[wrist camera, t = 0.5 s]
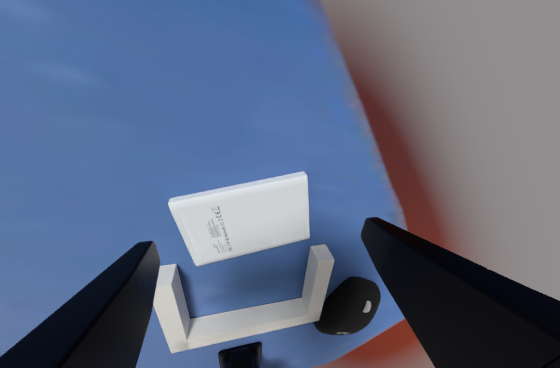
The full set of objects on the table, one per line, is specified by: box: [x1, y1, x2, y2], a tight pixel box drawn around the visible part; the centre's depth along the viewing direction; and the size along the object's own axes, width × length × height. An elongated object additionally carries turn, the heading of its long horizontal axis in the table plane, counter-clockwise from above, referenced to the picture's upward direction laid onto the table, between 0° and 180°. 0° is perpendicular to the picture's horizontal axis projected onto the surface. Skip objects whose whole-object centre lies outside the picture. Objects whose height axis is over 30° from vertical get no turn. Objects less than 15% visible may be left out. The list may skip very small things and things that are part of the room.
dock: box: [153, 244, 335, 353], centre depth 25 cm, size 12×19×2 cm, turn 87°
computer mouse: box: [314, 277, 381, 335], centre depth 32 cm, size 8×12×4 cm, turn 147°
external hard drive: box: [168, 171, 310, 266], centre depth 21 cm, size 2×8×12 cm
